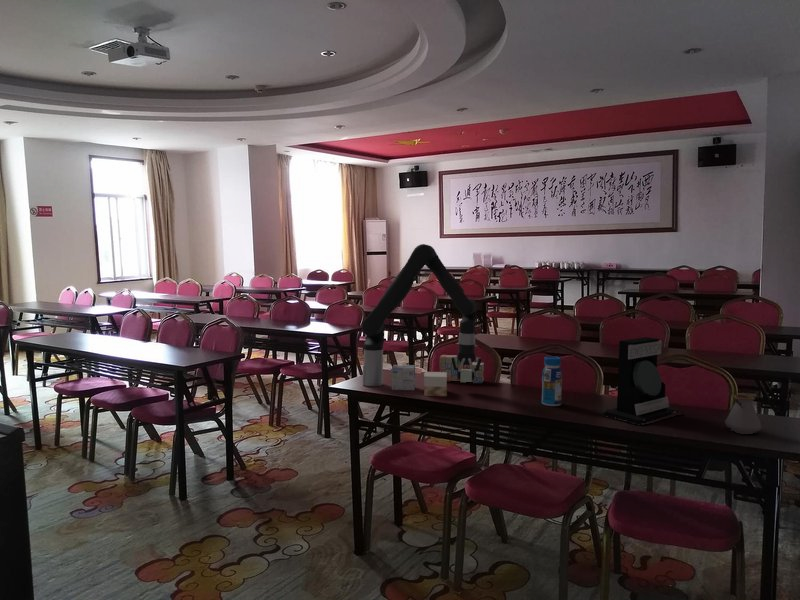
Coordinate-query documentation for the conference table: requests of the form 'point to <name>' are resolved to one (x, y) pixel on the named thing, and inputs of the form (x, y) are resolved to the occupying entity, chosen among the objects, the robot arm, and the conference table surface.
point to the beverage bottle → (552, 381)
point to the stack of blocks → (447, 367)
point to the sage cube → (466, 375)
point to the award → (640, 383)
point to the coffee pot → (743, 415)
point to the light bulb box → (403, 377)
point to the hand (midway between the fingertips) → (465, 379)
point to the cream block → (435, 379)
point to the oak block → (435, 391)
